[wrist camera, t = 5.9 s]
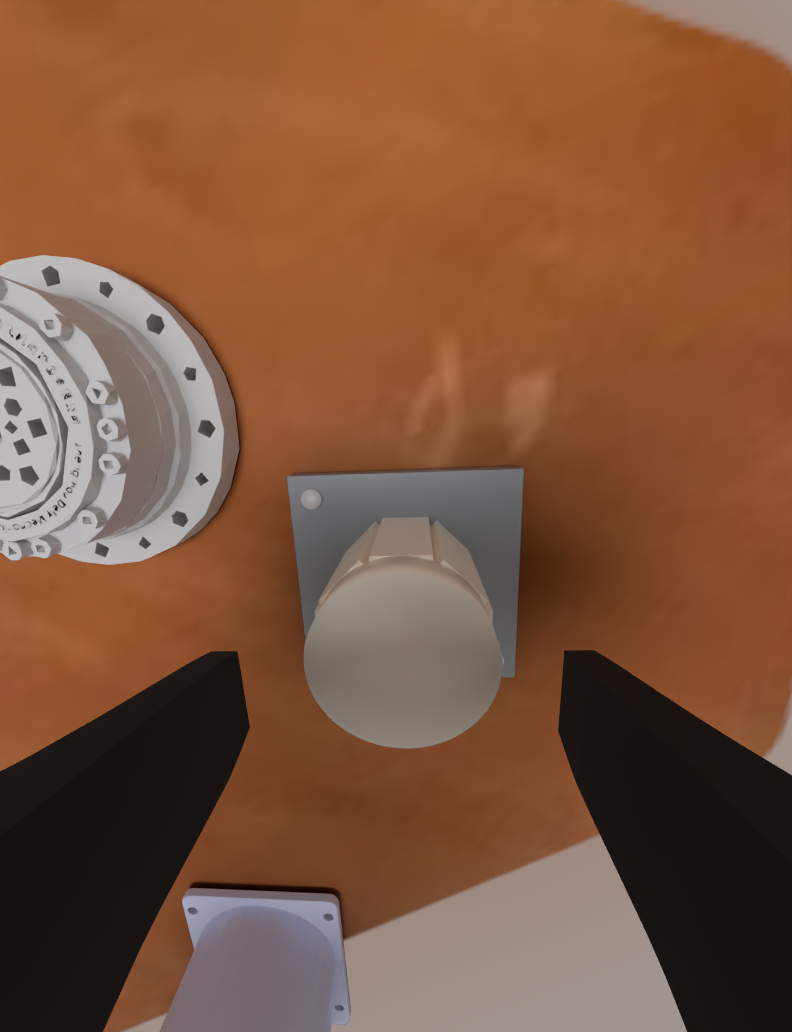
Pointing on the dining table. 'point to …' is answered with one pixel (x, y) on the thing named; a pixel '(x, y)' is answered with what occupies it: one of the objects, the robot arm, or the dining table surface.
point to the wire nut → (404, 638)
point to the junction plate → (414, 493)
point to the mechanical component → (105, 417)
